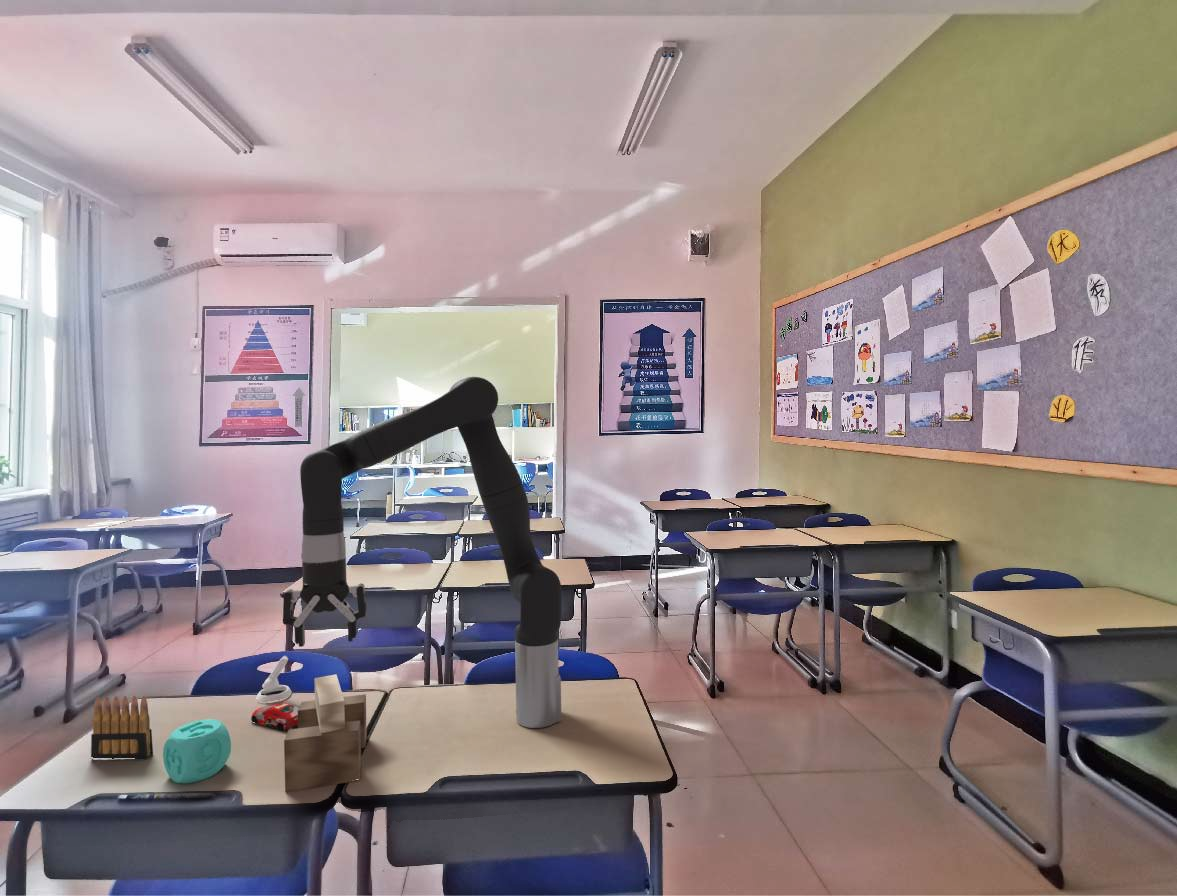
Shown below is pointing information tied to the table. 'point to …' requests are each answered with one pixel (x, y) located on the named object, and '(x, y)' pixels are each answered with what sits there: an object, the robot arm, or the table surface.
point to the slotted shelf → (325, 747)
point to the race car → (277, 716)
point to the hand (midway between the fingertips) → (326, 642)
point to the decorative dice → (196, 751)
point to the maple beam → (329, 704)
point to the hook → (274, 684)
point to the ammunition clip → (121, 730)
